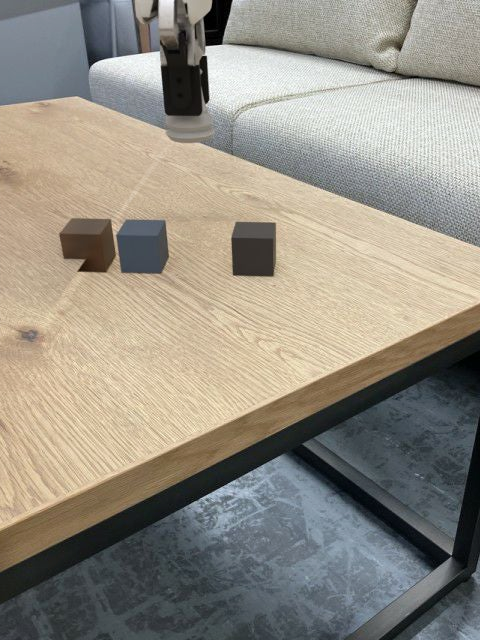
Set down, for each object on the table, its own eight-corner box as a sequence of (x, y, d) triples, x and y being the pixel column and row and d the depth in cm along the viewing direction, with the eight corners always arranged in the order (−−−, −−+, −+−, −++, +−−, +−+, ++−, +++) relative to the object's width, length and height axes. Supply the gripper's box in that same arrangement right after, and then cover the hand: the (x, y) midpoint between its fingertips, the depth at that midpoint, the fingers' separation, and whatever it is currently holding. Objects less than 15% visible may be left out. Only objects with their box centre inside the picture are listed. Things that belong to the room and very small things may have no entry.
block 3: (232, 275, 68) (231, 237, 66) (237, 258, 71) (235, 221, 69) (273, 276, 68) (273, 238, 66) (276, 259, 71) (276, 222, 69)
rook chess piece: (167, 131, 65) (158, 36, 61) (215, 130, 65) (210, 35, 61) (164, 144, 61) (154, 45, 57) (215, 143, 62) (209, 44, 57)
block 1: (66, 271, 69) (58, 233, 67) (78, 254, 72) (71, 217, 70) (106, 272, 69) (100, 234, 66) (116, 255, 72) (111, 218, 70)
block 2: (121, 273, 69) (115, 234, 66) (130, 256, 72) (125, 219, 70) (161, 274, 68) (157, 235, 66) (169, 257, 72) (165, 219, 70)
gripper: (143, -143, 59) (164, 88, 69) (87, -158, 45) (123, 133, 55) (232, -144, 58) (239, 89, 69) (203, -159, 45) (218, 135, 55)
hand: (187, 106), depth 62 cm, fingers closed on rook chess piece, 3 cm apart
